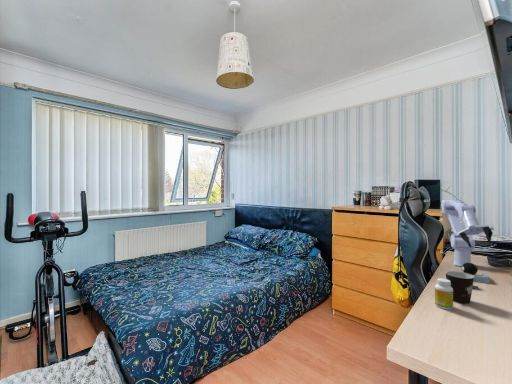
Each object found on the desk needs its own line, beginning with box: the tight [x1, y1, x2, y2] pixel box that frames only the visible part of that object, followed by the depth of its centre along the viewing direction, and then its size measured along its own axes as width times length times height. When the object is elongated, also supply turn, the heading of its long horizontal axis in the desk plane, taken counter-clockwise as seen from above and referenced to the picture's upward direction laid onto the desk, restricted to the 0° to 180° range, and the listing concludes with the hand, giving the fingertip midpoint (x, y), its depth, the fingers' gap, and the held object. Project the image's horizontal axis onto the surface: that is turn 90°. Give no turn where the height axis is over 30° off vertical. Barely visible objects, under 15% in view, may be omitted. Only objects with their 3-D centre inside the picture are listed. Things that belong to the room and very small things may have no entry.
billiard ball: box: [461, 262, 479, 275], centre depth 127 cm, size 6×6×6 cm
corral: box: [455, 268, 490, 284], centre depth 122 cm, size 8×11×2 cm
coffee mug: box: [445, 270, 475, 305], centre depth 98 cm, size 12×9×10 cm
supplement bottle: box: [434, 277, 454, 310], centre depth 92 cm, size 5×5×10 cm
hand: (479, 244), depth 122 cm, fingers open, 7 cm apart
